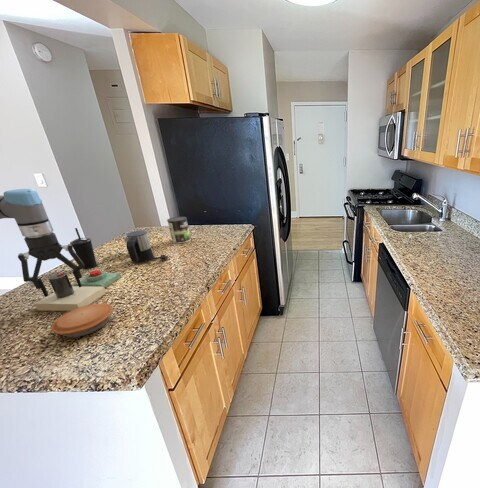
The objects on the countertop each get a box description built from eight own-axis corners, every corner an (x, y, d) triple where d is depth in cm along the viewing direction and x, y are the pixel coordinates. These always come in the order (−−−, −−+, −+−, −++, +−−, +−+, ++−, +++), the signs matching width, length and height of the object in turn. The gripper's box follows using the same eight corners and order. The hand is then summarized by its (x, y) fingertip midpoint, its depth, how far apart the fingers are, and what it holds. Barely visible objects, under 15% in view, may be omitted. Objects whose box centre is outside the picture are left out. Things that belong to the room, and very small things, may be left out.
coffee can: (194, 238, 164) (190, 216, 159) (183, 244, 155) (178, 221, 150) (179, 237, 166) (175, 216, 161) (168, 243, 156) (162, 220, 151)
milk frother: (135, 257, 137) (127, 231, 131) (169, 252, 144) (162, 226, 138) (130, 269, 125) (121, 240, 120) (168, 262, 132) (161, 235, 126)
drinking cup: (100, 261, 133) (86, 224, 125) (100, 267, 127) (86, 228, 120) (80, 266, 128) (65, 227, 121) (80, 271, 123) (63, 232, 115)
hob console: (37, 310, 95) (33, 303, 94) (68, 292, 106) (65, 285, 105) (79, 311, 95) (76, 303, 93) (106, 293, 106) (103, 286, 105)
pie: (49, 330, 85) (42, 318, 83) (106, 306, 97) (101, 295, 95) (63, 350, 77) (57, 336, 75) (123, 321, 89) (119, 309, 87)
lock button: (88, 277, 110) (87, 273, 110) (95, 273, 114) (94, 269, 113) (96, 277, 110) (95, 273, 110) (103, 273, 114) (102, 269, 113)
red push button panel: (74, 288, 109) (71, 280, 107) (95, 276, 118) (92, 269, 117) (102, 288, 109) (99, 280, 107) (120, 277, 118) (118, 269, 116)
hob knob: (65, 298, 97) (57, 278, 94) (52, 298, 97) (43, 278, 94) (77, 291, 101) (70, 272, 98) (65, 290, 102) (57, 272, 99)
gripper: (-11, 245, 81) (21, 306, 89) (80, 230, 94) (100, 283, 103) (-7, 239, 86) (23, 297, 94) (79, 225, 99) (98, 277, 108)
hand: (63, 290), depth 99 cm, fingers open, 9 cm apart
